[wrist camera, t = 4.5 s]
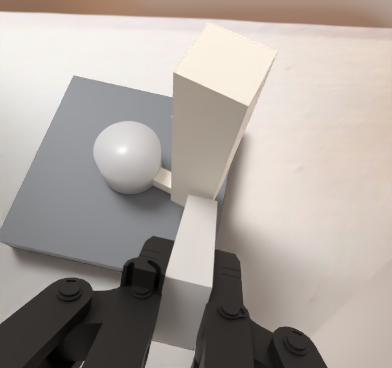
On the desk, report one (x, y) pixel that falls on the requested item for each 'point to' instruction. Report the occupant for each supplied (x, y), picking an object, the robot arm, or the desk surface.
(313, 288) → the desk surface
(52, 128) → the dial plate
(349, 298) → the desk surface
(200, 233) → the robot arm
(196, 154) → the lever
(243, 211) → the desk surface
